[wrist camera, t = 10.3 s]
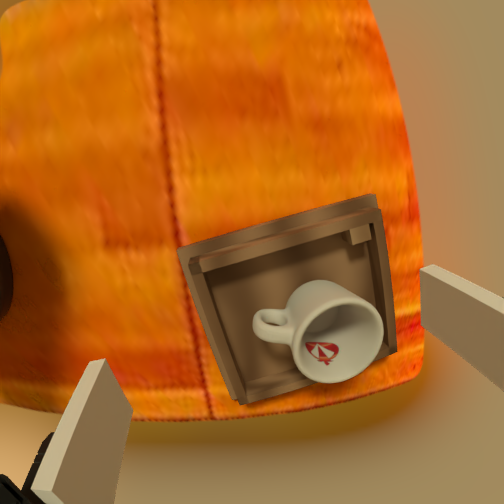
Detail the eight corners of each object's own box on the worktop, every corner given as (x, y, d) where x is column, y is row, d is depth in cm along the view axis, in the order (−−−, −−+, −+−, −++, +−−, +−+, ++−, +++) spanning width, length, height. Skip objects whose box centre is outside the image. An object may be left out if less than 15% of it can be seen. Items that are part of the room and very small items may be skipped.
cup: (243, 339, 32) (251, 385, 25) (252, 264, 31) (264, 293, 23) (341, 341, 34) (371, 382, 26) (356, 272, 32) (395, 300, 24)
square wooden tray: (231, 393, 35) (233, 414, 32) (178, 248, 31) (173, 257, 27) (390, 340, 36) (404, 355, 33) (370, 193, 32) (387, 196, 28)
